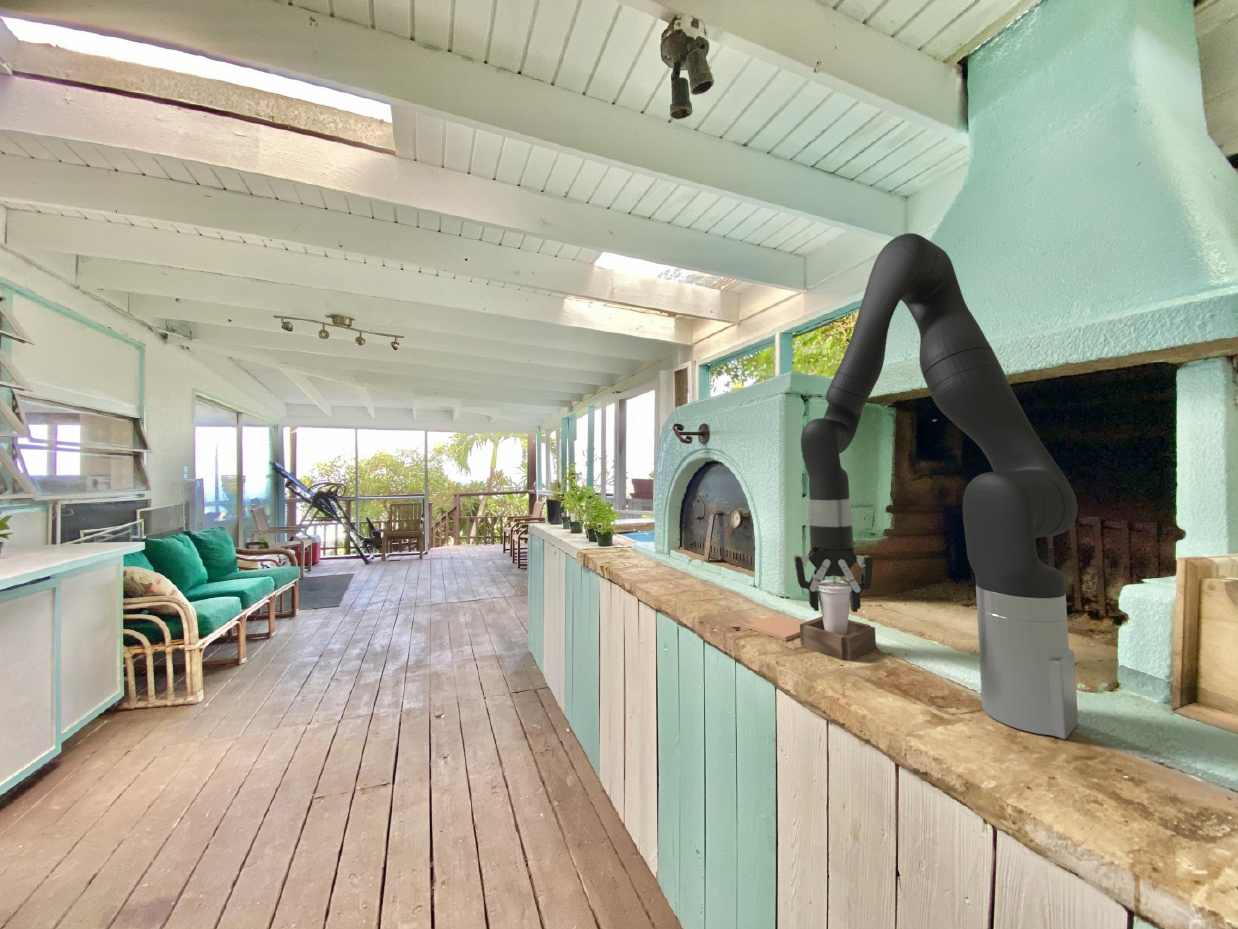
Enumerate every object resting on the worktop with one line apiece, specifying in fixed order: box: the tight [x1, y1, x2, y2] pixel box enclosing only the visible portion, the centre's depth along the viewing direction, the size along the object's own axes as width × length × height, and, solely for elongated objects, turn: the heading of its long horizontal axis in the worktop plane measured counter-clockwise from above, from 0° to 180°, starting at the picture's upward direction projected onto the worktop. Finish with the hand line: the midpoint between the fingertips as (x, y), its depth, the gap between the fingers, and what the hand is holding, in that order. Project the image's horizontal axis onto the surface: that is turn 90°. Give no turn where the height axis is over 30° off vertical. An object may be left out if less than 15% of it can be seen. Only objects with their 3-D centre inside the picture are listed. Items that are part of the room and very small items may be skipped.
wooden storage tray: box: [799, 616, 877, 662], centre depth 89 cm, size 10×10×4 cm
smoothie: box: [816, 576, 852, 636], centre depth 88 cm, size 6×6×14 cm
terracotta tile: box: [745, 614, 803, 642], centre depth 99 cm, size 10×10×1 cm
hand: (834, 610), depth 88 cm, fingers closed on smoothie, 6 cm apart
